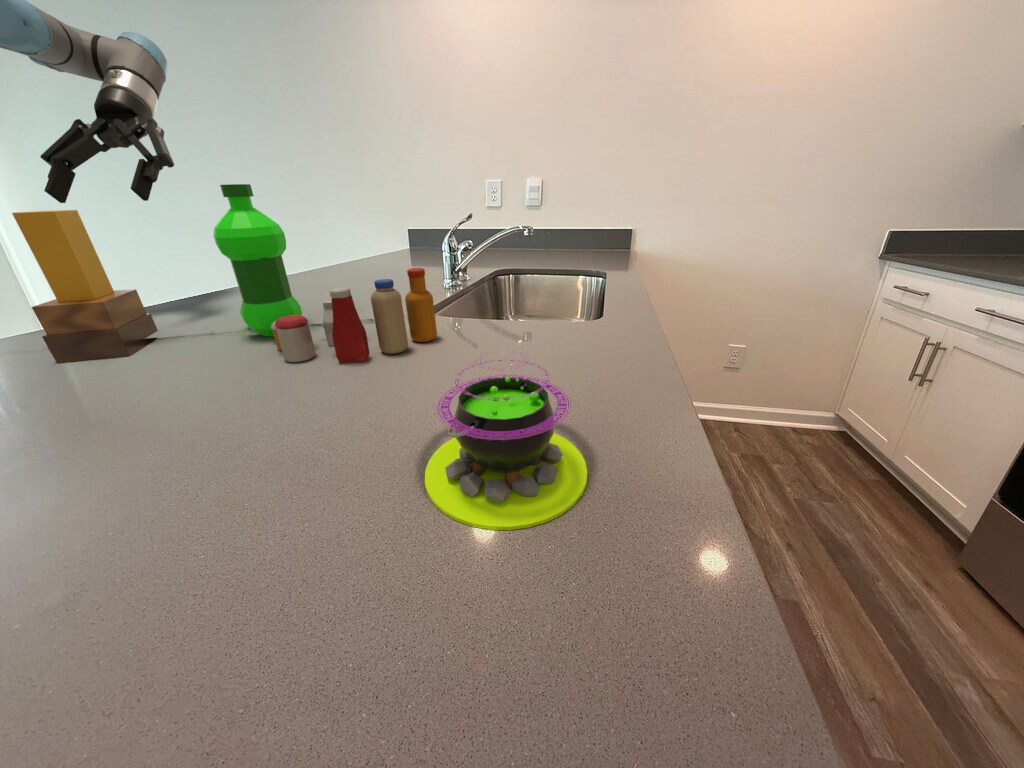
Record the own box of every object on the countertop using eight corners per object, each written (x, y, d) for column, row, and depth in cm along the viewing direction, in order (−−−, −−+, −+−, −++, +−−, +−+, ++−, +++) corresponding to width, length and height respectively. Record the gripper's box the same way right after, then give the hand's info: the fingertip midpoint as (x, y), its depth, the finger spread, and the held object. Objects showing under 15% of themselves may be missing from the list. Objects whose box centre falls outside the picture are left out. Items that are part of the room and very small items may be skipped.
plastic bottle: (252, 345, 70) (200, 184, 59) (242, 331, 78) (195, 185, 67) (313, 332, 76) (276, 183, 65) (298, 320, 83) (263, 184, 72)
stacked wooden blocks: (56, 363, 65) (25, 307, 61) (97, 342, 74) (72, 293, 70) (129, 356, 67) (104, 302, 63) (160, 336, 76) (140, 288, 72)
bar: (57, 302, 64) (11, 212, 58) (79, 295, 68) (38, 211, 62) (95, 299, 65) (53, 211, 59) (114, 292, 69) (77, 209, 63)
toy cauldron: (484, 413, 47) (478, 322, 42) (610, 449, 40) (620, 345, 35) (388, 490, 36) (365, 376, 31) (542, 559, 29) (543, 426, 24)
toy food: (439, 333, 73) (432, 265, 68) (428, 361, 62) (418, 281, 57) (290, 338, 73) (271, 270, 68) (252, 366, 62) (225, 287, 56)
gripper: (34, 86, 71) (-8, 180, 65) (182, 84, 73) (156, 176, 66) (76, 125, 79) (42, 214, 72) (209, 123, 80) (189, 209, 73)
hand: (97, 196), depth 69 cm, fingers open, 13 cm apart
